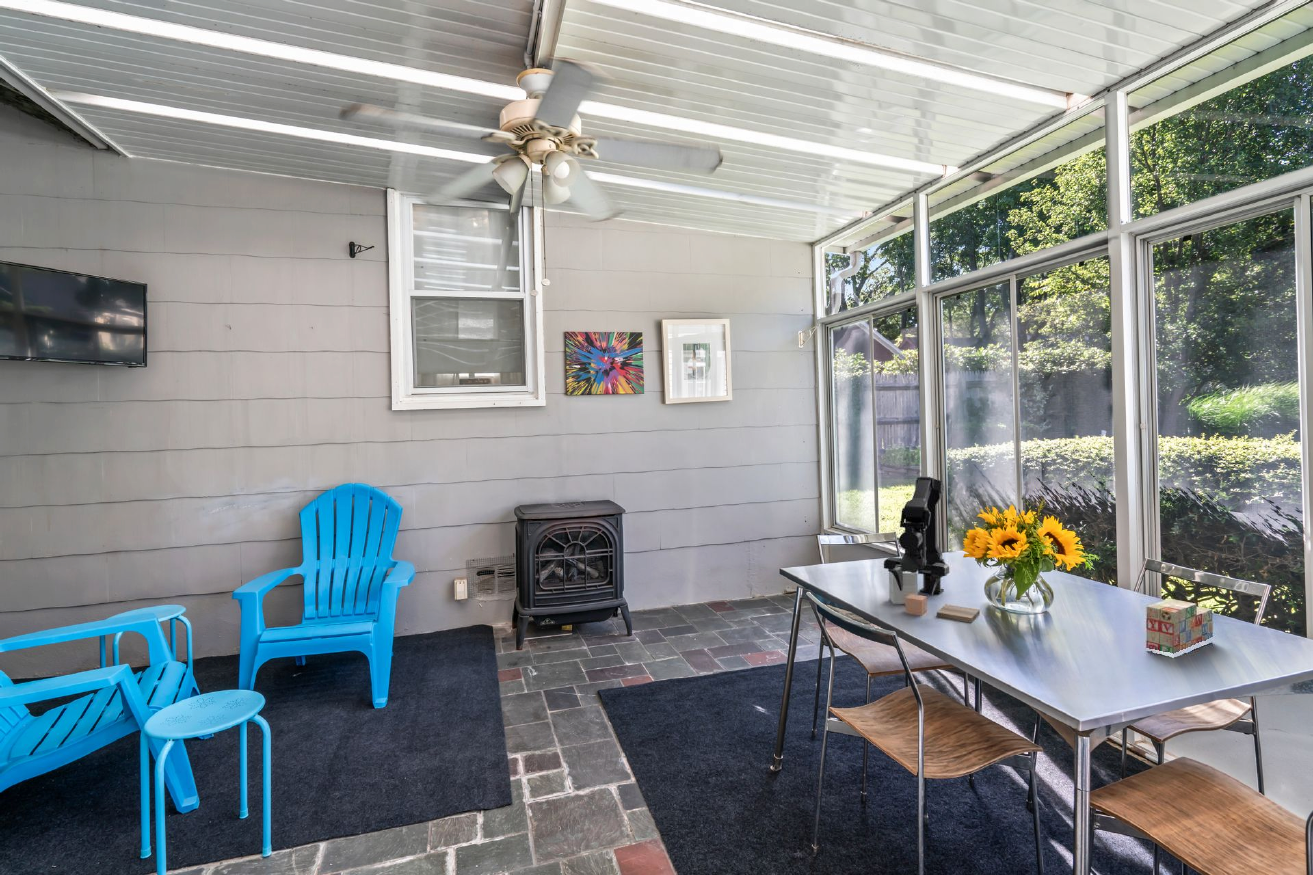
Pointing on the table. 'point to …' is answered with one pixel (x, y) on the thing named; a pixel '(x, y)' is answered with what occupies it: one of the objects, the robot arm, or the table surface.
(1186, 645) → the stack of blocks
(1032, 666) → the table surface
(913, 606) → the terracotta cube
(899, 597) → the small box
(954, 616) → the walnut base
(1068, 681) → the table surface
